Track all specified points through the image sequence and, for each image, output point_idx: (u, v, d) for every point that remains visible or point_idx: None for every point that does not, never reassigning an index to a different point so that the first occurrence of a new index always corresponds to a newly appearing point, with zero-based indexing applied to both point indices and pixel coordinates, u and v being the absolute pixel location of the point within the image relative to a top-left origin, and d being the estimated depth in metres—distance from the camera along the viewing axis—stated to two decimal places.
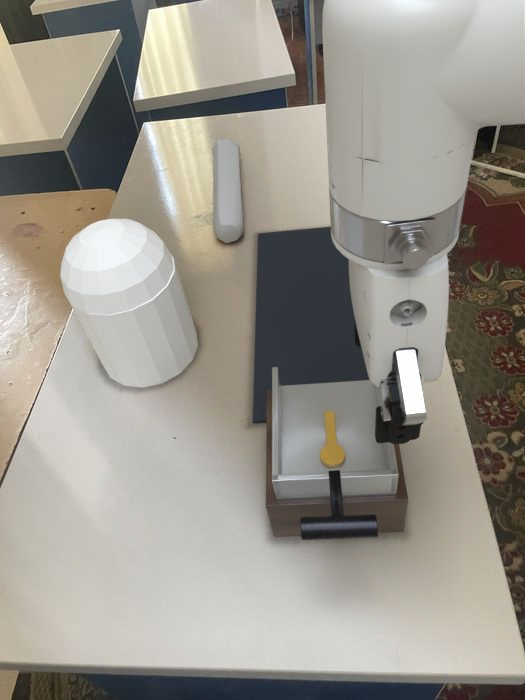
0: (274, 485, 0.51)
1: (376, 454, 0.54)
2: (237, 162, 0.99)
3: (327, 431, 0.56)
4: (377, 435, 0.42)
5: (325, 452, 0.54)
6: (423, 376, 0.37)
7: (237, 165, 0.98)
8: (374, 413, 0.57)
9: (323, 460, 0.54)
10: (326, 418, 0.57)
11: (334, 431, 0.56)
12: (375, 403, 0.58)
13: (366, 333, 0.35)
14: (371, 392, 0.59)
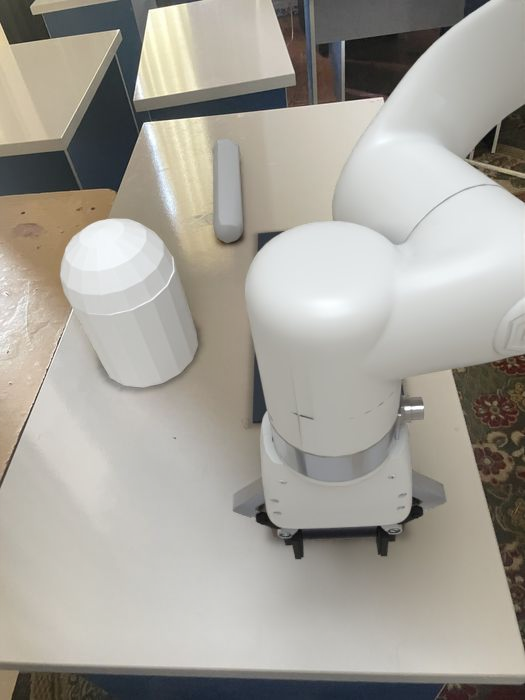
0: None
1: None
2: (237, 162, 0.99)
3: None
4: (387, 551, 0.45)
5: None
6: None
7: (237, 165, 0.98)
8: None
9: None
10: None
11: None
12: None
13: (396, 498, 0.37)
14: None
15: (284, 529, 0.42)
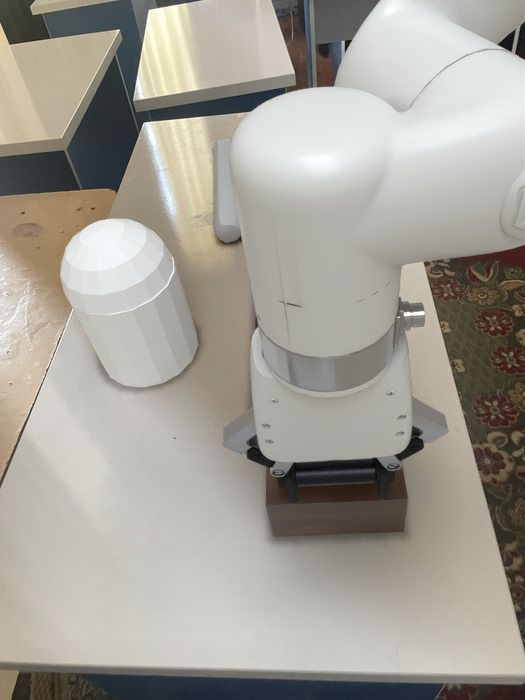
0: None
1: None
2: None
3: None
4: None
5: None
6: None
7: None
8: None
9: None
10: None
11: None
12: None
13: (395, 420, 0.34)
14: None
15: (277, 465, 0.40)
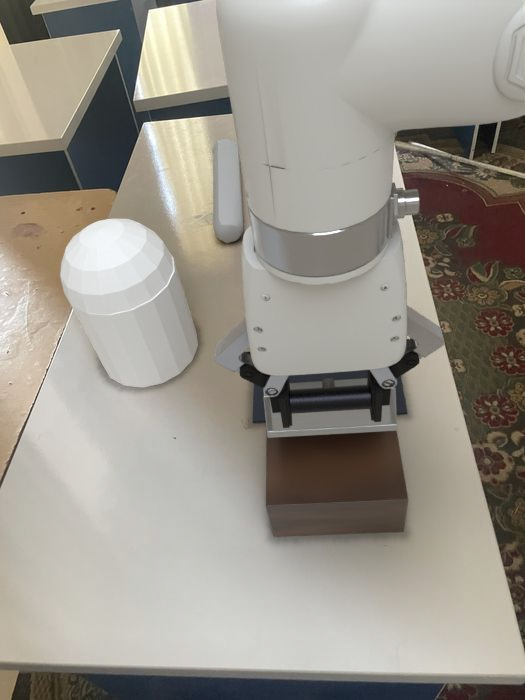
0: (265, 405, 0.48)
1: None
2: (237, 162, 0.99)
3: None
4: None
5: None
6: None
7: (237, 165, 0.98)
8: None
9: None
10: None
11: None
12: None
13: (389, 322, 0.34)
14: None
15: (270, 383, 0.40)
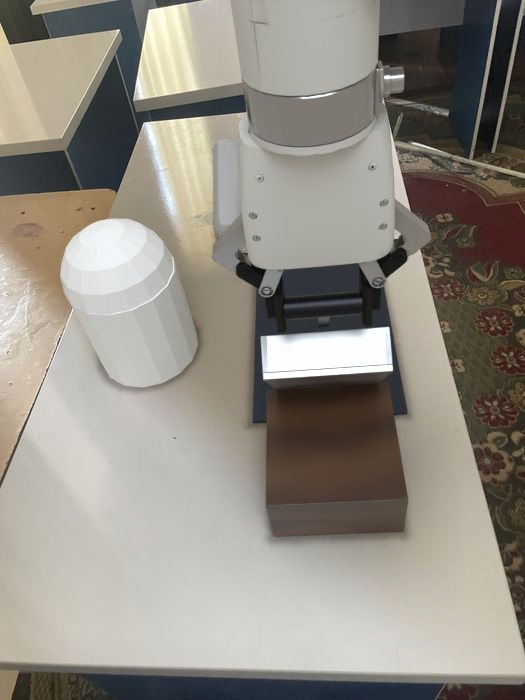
0: (262, 345, 0.49)
1: None
2: (237, 162, 0.99)
3: None
4: (371, 317, 0.44)
5: None
6: None
7: (237, 165, 0.98)
8: None
9: None
10: None
11: None
12: None
13: (377, 207, 0.35)
14: None
15: (265, 280, 0.41)
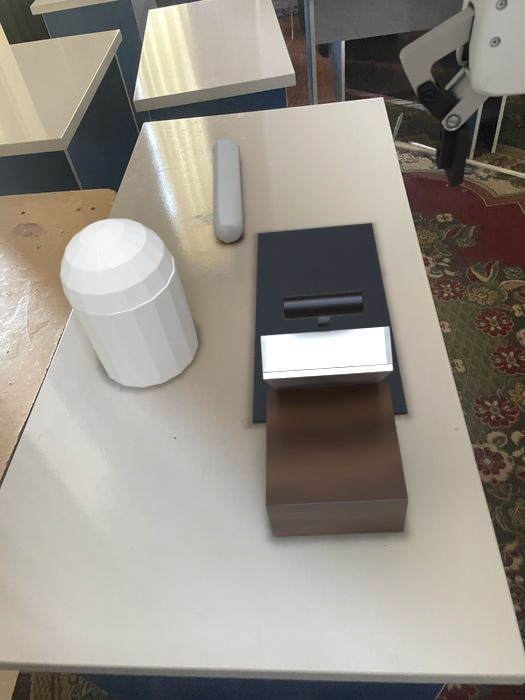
0: (262, 345, 0.49)
1: None
2: (237, 162, 0.99)
3: None
4: None
5: None
6: None
7: (237, 165, 0.98)
8: None
9: None
10: None
11: None
12: None
13: None
14: None
15: (461, 104, 0.33)
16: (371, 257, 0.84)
